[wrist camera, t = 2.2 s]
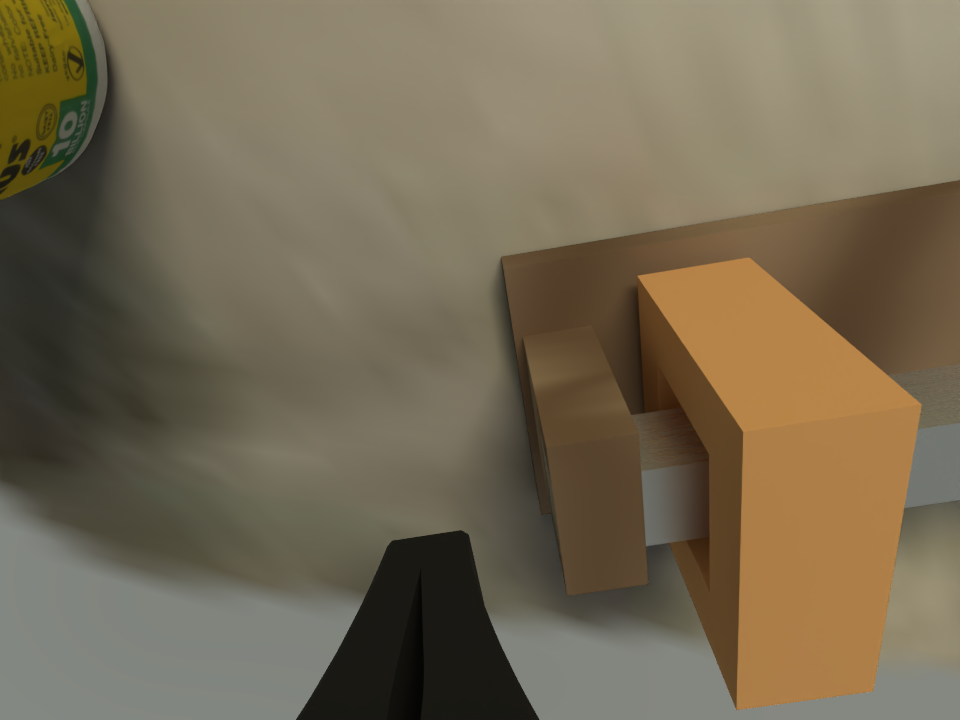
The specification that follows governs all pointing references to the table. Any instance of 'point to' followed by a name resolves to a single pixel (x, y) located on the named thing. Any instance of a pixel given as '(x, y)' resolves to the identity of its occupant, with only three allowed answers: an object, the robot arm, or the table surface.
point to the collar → (781, 478)
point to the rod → (685, 461)
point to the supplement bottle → (47, 88)
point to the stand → (617, 343)
